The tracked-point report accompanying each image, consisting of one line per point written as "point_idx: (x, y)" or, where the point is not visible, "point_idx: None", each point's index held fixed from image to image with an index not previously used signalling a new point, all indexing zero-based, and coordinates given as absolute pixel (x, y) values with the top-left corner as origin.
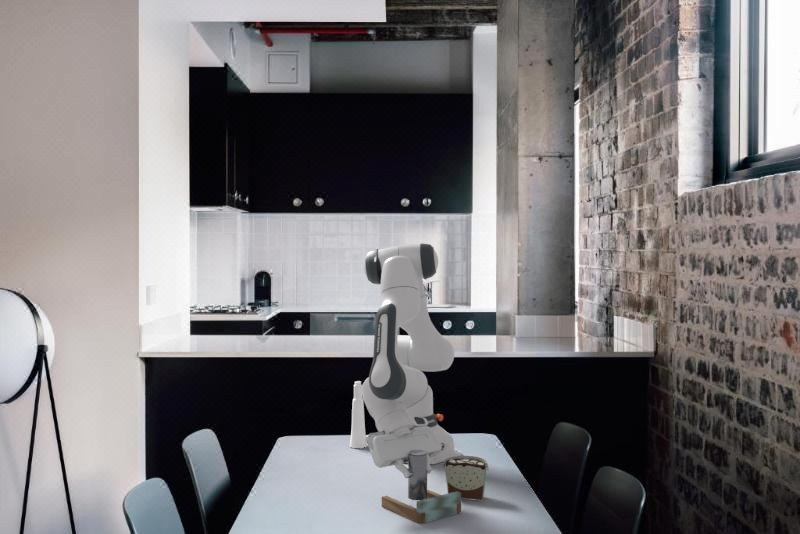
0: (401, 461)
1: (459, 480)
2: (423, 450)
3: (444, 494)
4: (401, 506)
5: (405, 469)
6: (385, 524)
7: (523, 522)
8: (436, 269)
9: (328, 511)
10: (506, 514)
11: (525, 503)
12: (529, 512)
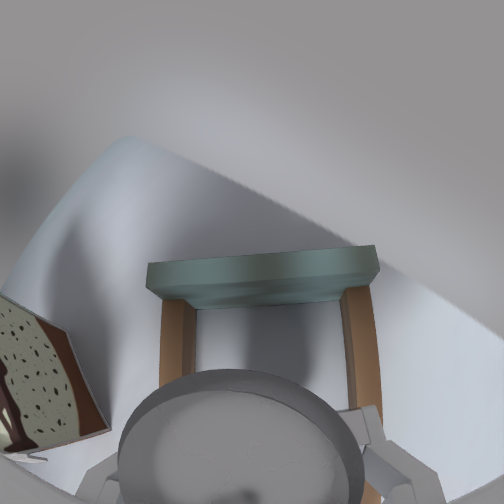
0: (412, 495)
1: (52, 392)
2: (121, 486)
3: (216, 282)
4: (379, 383)
5: (384, 442)
6: (448, 331)
7: (129, 163)
8: None
9: None
10: (109, 214)
11: (37, 250)
12: (75, 202)
